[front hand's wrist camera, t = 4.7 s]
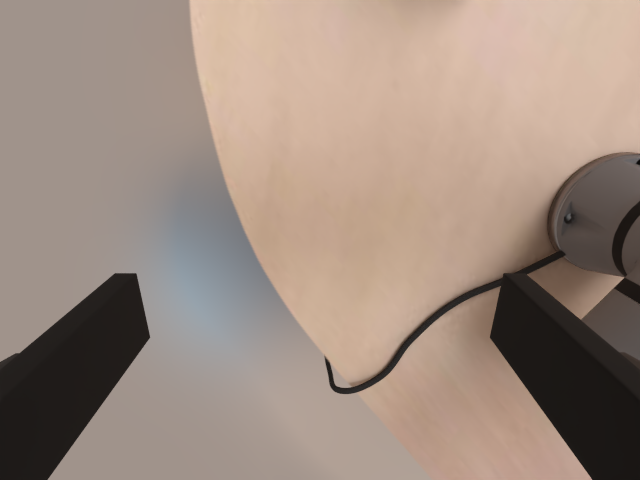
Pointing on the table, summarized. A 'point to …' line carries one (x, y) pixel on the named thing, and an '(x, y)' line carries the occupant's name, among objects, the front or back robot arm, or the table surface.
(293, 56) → the table surface
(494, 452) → the table surface
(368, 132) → the table surface
